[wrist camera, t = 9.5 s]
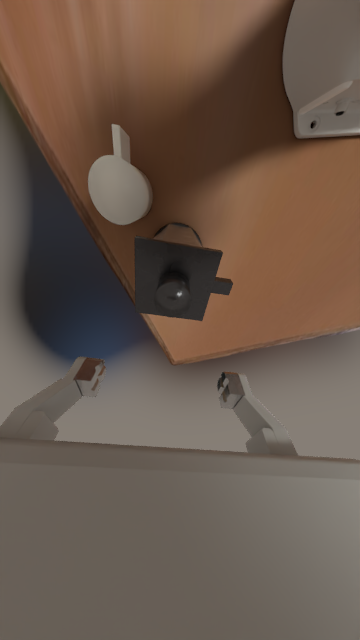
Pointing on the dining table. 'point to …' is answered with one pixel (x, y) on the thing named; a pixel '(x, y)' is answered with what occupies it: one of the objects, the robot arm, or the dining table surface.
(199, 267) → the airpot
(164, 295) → the pump plunger
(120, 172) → the diner mug
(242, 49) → the dining table surface
